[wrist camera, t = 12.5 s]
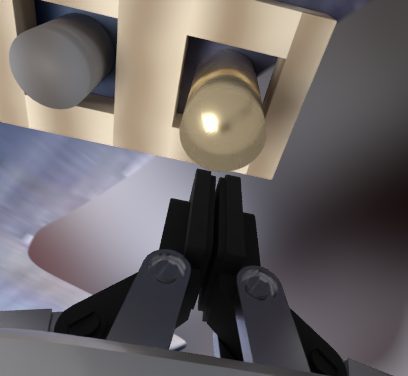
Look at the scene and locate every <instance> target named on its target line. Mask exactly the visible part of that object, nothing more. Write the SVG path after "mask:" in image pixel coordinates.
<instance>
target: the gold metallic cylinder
mask: <svg viewBox="0 0 408 376" xmlns="http://www.w3.org/2000/svg"><path fill="white" fill-rule="evenodd" d="M179 135H180V141H181V144H182V147H183V149H184V151H185V152H186V154H187V155H188V156H189V158H190V159H191V160H193V161H194V162H195V163H196V164H198V165H200V166H202V167H204V168H206V169H208V170H212V171H218V172H227V171H234V170H238V169H240V168H243V167H245V166H247V165H248V164H250V163H251V162H253V161H254V160H255V159H256V158H257V157H258V155H259V154H260V153H261V151H262V149H263V147H264V145H265V142H266V136H267V128H266V122H265V117H264V112H263V107H262V102H261V97H260V91H259V86H258V81H257V76H256V72H255V69H254V66H253V65H252V63H251V62H250V60H249V59H248V58H247V57H245V56H244V55H243V54H241V53H239V52H237V51H234V50H218V51H215V52H213V53H211V54H209V55H207V56H206V57H205V58H204V59H203V60H202V61H201V62H200V64H199V65H198V67H197V69H196V72H195V75H194V79H193V82H192V86H191V89H190V92H189V96H188V99H187V103H186V106H185V110H184V113H183V116H182V120H181V124H180V130H179Z"/></svg>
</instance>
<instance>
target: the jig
mask: <svg viewBox="0 0 408 376" xmlns="http://www.w3.org/2000/svg"><path fill="white" fill-rule="evenodd" d="M43 1H47V2H51V3H56V4H60V5H64V6H68V7H72V8H76V9H81V10H85V11H89V12H93V13H97V14H101V15H106V16H110V17H114V18H118V31H117V55H116V79H115V98H110V97H106V96H101V95H97V94H92V93H90V92H91V91H92V90H93V89H94V88H95V87H96V86H97V85H98V84H99V83H100V82H101V81H102V80H103V79H104V78H105V77H106V76H107V75H108V74H109V72H110V71H111V69H112V67H113V64H114V59H115V52H114V46H113V43H112V40H111V38H110V36H109V34H108V33H107V31H106V30H105V29H104V28H103V27H102V26H101V25H100V24H99V23H98V22H97V21H96V20H94V19H92V18H91V17H89V16H86V15H83V14H79V13H71V14H67V15H64V16H61V17H59V18H56V19H54V20H51V21H49V22H46V23H44V24H41V25H39V26H37V23H36V12H35V2H34V0H0V121H1V122H3V123H8V124H13V125H17V126H22V127H27V128H31V129H36V130H41V131H45V132H50V133H55V134H60V135H64V136H69V137H74V138H78V139H83V140H88V141H92V142H97V143H102V144H106V145H111V146H116V147H120V148H125V149H130V150H134V151H139V152H144V153H149V154H153V155H158V156H163V157H167V158H172V159H177V160H181V161H186V162H191V163H195V162H194V161H193V160H191V159H190V158H189V156H188V155H187V154H186V152H185V151H184V149H183V147H182V144H181V141H180V135H179V130H180V124H181V120H182V116H183V114H182V113H177V108H178V102H179V96H180V90H181V84H182V78H183V72H184V66H185V60H186V54H187V48H188V42H189V36H193V37H197V38H201V39H206V40H210V41H214V42H218V43H222V44H226V45H230V46H235V47H239V48H243V49H247V50H251V51H255V52H260V53H264V54H268V55H272V56H276V57H278V59H277V62H276V65H275V68H274V71H273V74H272V77H271V80H270V83H269V86H268V89H267V92H266V95H265V98H264V101H263V104H262V107H263V112H264V117H265V122H266V128H267V136H266V142H265V145H264V147H263V149H262V151H261V153H260V154H259V155H258V157H257V158H256V159H255V160H254V161H253V162H251V163H250V164H248V165H247V166H245V167H243V168H240V169H238V170H234V171H233V172H238V173H242V174H247V175H252V176H256V177H261V178H266V179H270V180H271V179H272V178H273V175H274V173H275V171H276V168H277V165H278V163H279V161H280V158H281V156H282V154H283V151H284V149H285V146H286V144H287V141H288V139H289V136H290V134H291V132H292V129H293V127H294V124H295V122H296V119H297V117H298V115H299V112H300V110H301V108H302V105H303V102H304V100H305V98H306V95H307V93H308V90H309V88H310V86H311V83H312V81H313V78H314V76H315V73H316V71H317V69H318V66H319V64H320V61H321V59H322V57H323V54H324V52H325V49H326V47H327V45H328V42H329V39H330V37H331V35H332V32H333V30H334V27H335V25H336V23H337V21H336V20H335V19H333V18H332V17H331V16H329V15H328V14H326V13H322V12H318V11H314V10H310V9H306V8H302V7H298V6H294V5H290V4H286V3H282V2H278V1H274V0H43Z"/></svg>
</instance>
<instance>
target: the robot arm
mask: <svg viewBox="0 0 408 376" xmlns="http://www.w3.org/2000/svg"><path fill="white" fill-rule="evenodd" d="M215 185H216V176H212V175H211V171H207V170H202V169H197V170H196V174H195V179H194V183H193V187H192V192H191V196H190V200H189V202H188V201H183V200H178V199H173V198H171V199H170V203H169V208H168V212H167V217H166V221H165V226H164V230H163V235H162V239H161V244H160V248H159V250H157V251H154V252H152V253H151V254H149V255H147V257H146V258H145V260H144V261H143V263H142V266H141V267H140V269H139V272H137V273H135V274H133V275H132V276H129V277H128V278H126V279H124V280H122V281H120V282H118V283H116V284H114V285H112V286H110V287H108V288H106V289H104V290H102V291H100V292H98V293H96V294H94V295H92V296H90V297H88V298H86V299H84V300H82V301H80V302H78V303H76V304H75V305H73V306H71V307H69V308H68V309H67V310H65V311H64V312H52V309H35V310H14V311H0V376H392V375H390V374H387V373H385V372H382V371H380V370H377V369H375V368H372V367H370V366H367V365H365V364H362V363H360V362H357V361H355V360H352V359H350V358H348V359H347V360H346V361H345V360H343V359H341V357H340V356H339V355H338V354H337V352H336V351H335V350H334V349H333V348H332V347H331V346H330V345H329V344H328V343H327V342H326V341H324V340H323V339H322V338H321V337H320V336H319V335H318V334H317V333H316V332H315V331H314V330H313V329H312V328H311V327H310V326H309V325H307V324H306V323H305V322H304V321H303V320H302V319H301V318H300V317H299V316H298V315H297V314H296V313H295V312H294V311H292V310H291V309H290V308H289V305H288V303H287V300H286V297H285V293H284V290H283V288H282V285H281V283H280V281H279V279H278V278H277V277H276V276H275V275H274V274H273V273H272V272H271V271H269V270H268V269H265V268H263V267H261V265H260V256H259V247H258V238H257V230H256V221H255V216H254V215H253V214H249V213H243V207H242V192H241V179H240V177H236V176H231V175H226V176H225V178H222V177H220V178H219V181H218V184H217V188H216V191H215ZM198 294H199V300H198V310H199V311H203V321H205V322H207V324H208V325H209V326H210V327H211V328H212V330H213V331H214V333H213V344H214V353H215V357H212V356H205V355H199V354H192V353H186V352H180V351H174V350H169V347H170V344H171V341H172V337H173V334H174V330H175V329H176V328H177V327H178V326H180V325H181V324H183V323H184V322H186V321H187V320H188V318H189V314H190V311H191V309H194V306H195V303H196V300H197V297H198Z"/></svg>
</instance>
